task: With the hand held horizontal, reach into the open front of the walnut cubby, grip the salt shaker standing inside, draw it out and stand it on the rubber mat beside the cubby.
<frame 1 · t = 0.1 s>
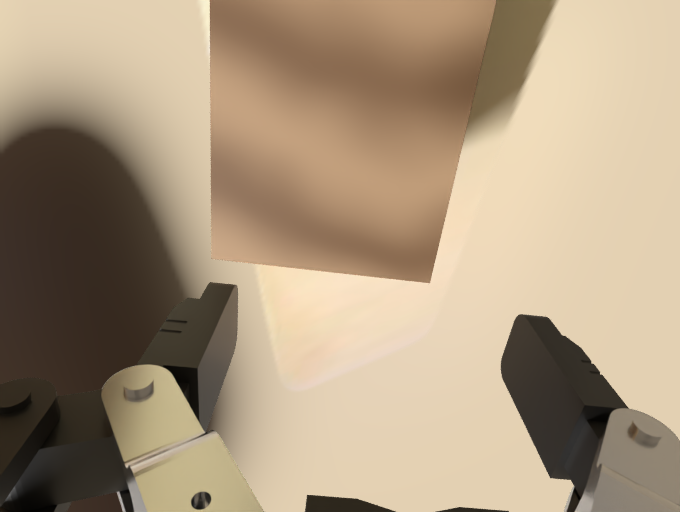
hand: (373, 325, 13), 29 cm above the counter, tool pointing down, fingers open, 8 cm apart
cubby: (345, 50, 36), on the counter
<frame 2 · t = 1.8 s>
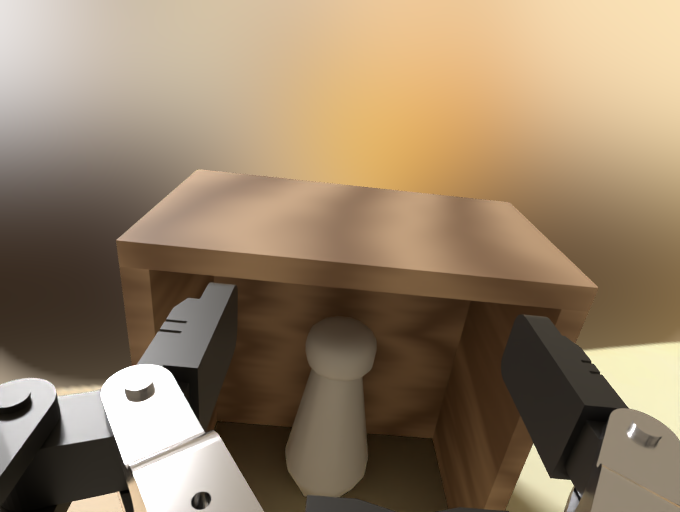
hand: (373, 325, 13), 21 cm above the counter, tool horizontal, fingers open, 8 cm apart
cubby: (323, 476, 32), on the counter
salt shaker: (323, 478, 32), on the counter
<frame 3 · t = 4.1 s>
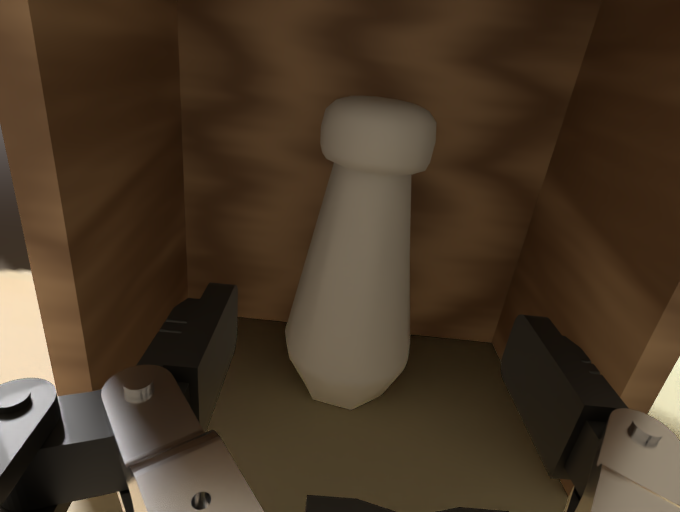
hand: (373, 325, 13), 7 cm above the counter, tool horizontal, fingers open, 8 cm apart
cubby: (341, 378, 21), on the counter
salt shaker: (341, 381, 22), on the counter
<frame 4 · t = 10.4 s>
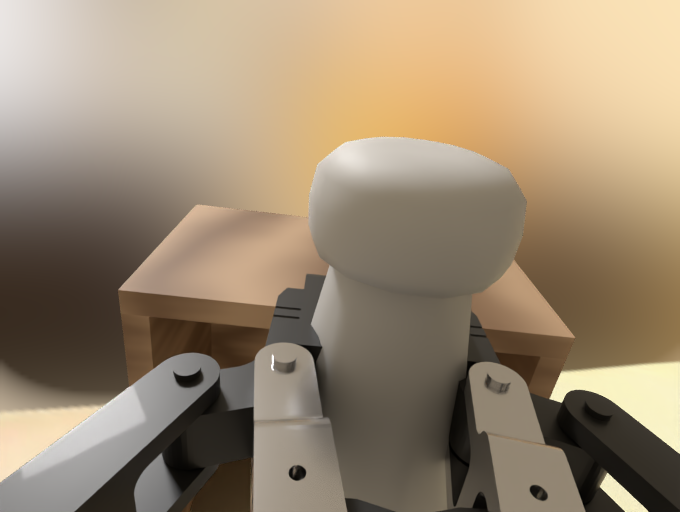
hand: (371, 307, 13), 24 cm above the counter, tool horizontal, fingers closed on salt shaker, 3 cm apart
cubby: (315, 500, 33), on the counter
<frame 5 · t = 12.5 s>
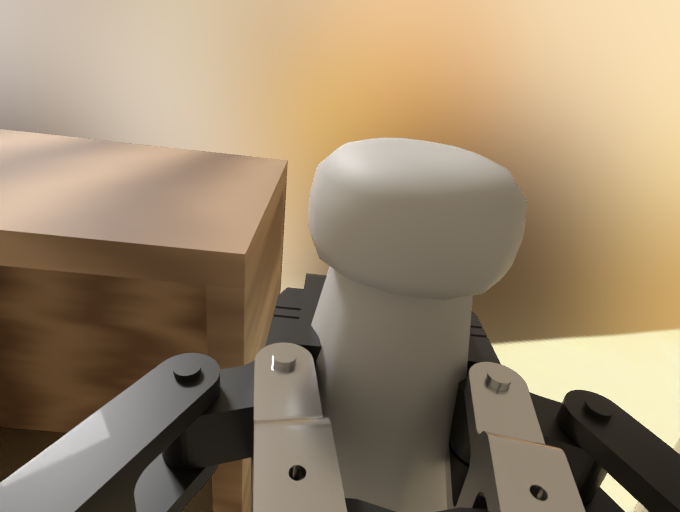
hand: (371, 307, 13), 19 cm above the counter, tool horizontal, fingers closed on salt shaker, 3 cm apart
cubby: (93, 495, 26), on the counter
when the fingers open (9 cm above the counter, at t = 14.5 s): salt shaker stays where it is, resting on mat.
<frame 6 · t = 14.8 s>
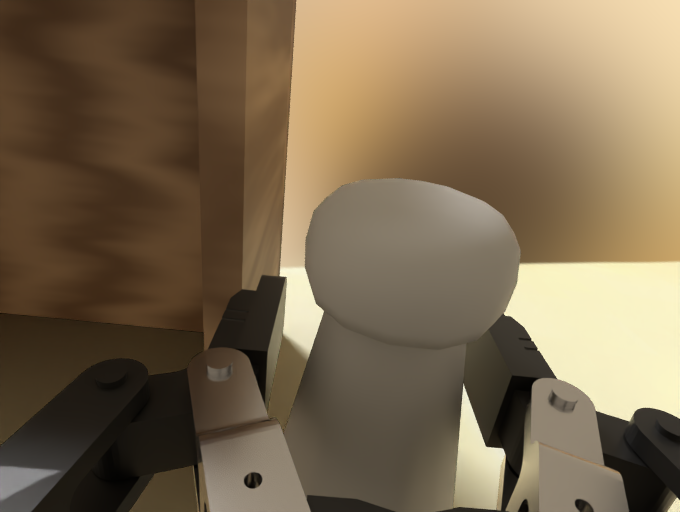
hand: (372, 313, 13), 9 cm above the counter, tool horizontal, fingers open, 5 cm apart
cubby: (60, 371, 22), on the counter
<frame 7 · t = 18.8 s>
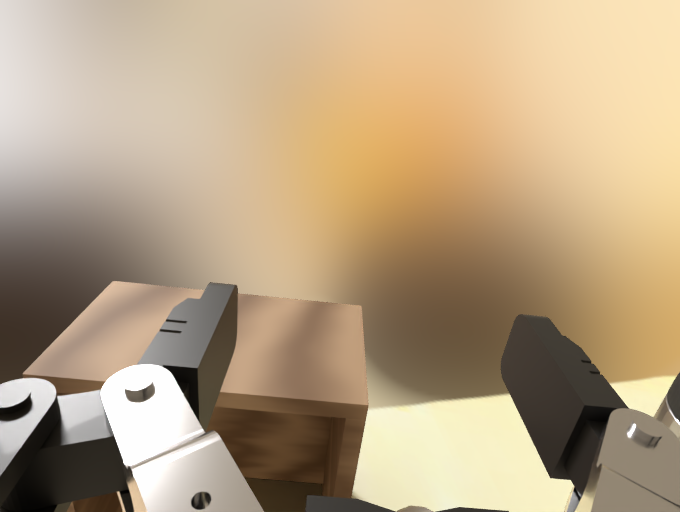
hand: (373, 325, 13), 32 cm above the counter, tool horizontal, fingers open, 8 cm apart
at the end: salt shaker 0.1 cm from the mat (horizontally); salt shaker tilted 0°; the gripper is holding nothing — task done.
